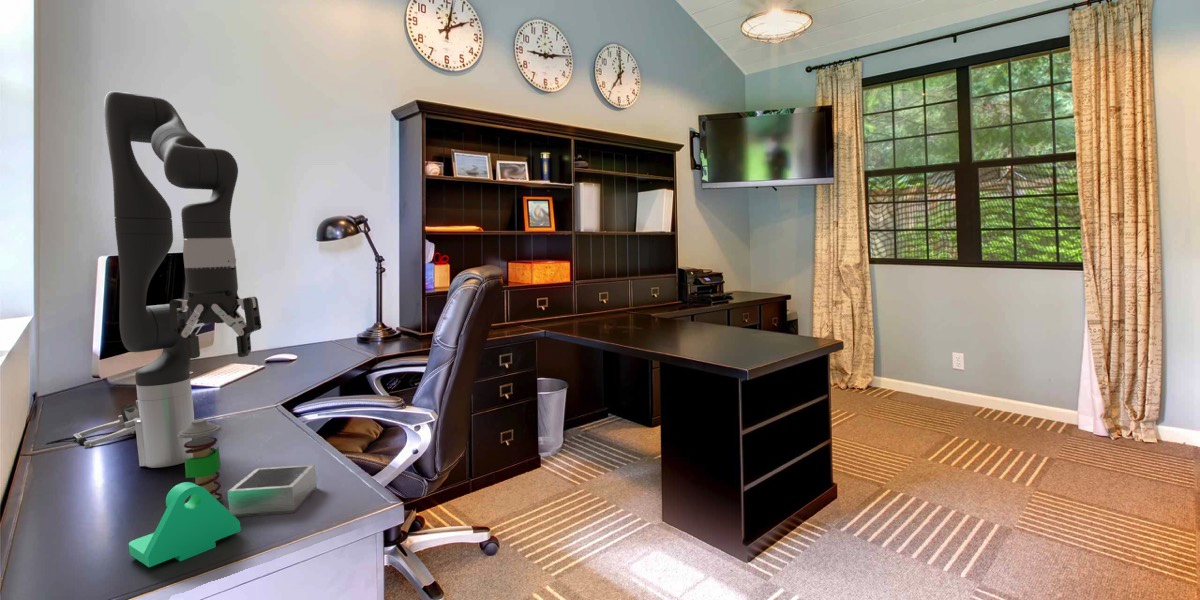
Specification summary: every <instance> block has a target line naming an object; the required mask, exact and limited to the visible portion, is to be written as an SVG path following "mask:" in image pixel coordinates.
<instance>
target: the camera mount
mask: <svg viewBox="0 0 1200 600" xmlns="http://www.w3.org/2000/svg"><path fill="white" fill-rule="evenodd" d="M190 496H191V498H190ZM188 498H189V500H188V501H187V502H186V500H187V499H188ZM165 506H166V509H165V510H164V513H163V515H162V517H161V518H160V521H159V523H158V524H157V527H156V529H155V531H153V532H152V533H149V534H147V535H144V536H141V537H138V538H136V539H133V540H131V541H129V543H128V549H129V550H128V551H129V556H131V557H133V558H134V559H136V560H137V561H138V562H140V563H142V564H143V565H145V566H146V567H147V568H151V567H152V568H153V567H154V566H156V565H159V564H162V563H164V562H166V561H169V560H172V559H175V560H177V561H178V562H182V561H185V560H188V559H189V558H192V557H195V556H197V555H200V554H202V553H205V552H207V551H209V550H211V549H215V548H216V547H217V545H216V542H217V541H219V540H222V539H225V538H227V537H229V536H232V535H234V534H237V533H239V532H241V531H242V530H241V529H242V528H241V522H240V520H239V519H238V517H235V516H233V515H232V514H231V513H230V511H229V510H228V509H227V507H225V506H224V505H223V504H222V503H221V502H220V500H217V499H215V498H214V497H213V496H212V495H211V494H210V493H209V492H208V491H207V490H206V489H205V488H203V487H200V486H198V485H196V484H194V482H190V481H185V482H181V483H177V484H176V485H175V486H173V487H172V488H171V489H170V490H169V491H168V493H167V495H166V497H165Z"/></svg>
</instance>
